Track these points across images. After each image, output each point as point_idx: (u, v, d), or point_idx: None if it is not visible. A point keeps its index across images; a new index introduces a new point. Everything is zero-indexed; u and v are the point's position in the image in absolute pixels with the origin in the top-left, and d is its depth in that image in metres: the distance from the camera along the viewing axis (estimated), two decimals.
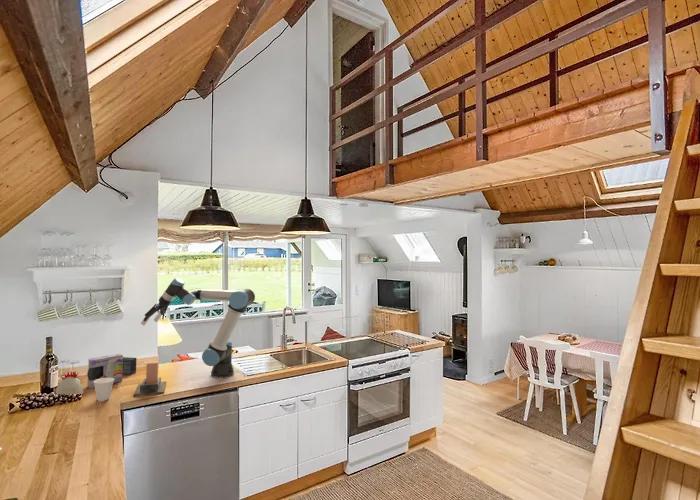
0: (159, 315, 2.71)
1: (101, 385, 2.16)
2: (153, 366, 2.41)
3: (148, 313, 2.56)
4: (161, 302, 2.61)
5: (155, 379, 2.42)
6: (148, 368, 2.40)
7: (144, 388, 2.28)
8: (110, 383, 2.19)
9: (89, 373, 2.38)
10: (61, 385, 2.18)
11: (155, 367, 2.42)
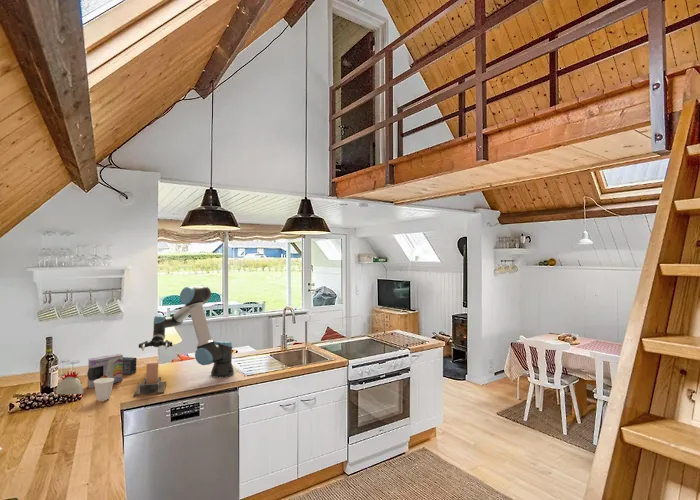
0: (166, 345, 2.59)
1: (101, 385, 2.16)
2: (153, 366, 2.41)
3: None
4: (151, 341, 2.67)
5: (155, 379, 2.42)
6: (148, 368, 2.40)
7: (144, 388, 2.28)
8: (110, 383, 2.19)
9: (89, 373, 2.38)
10: (61, 385, 2.18)
11: (155, 367, 2.42)
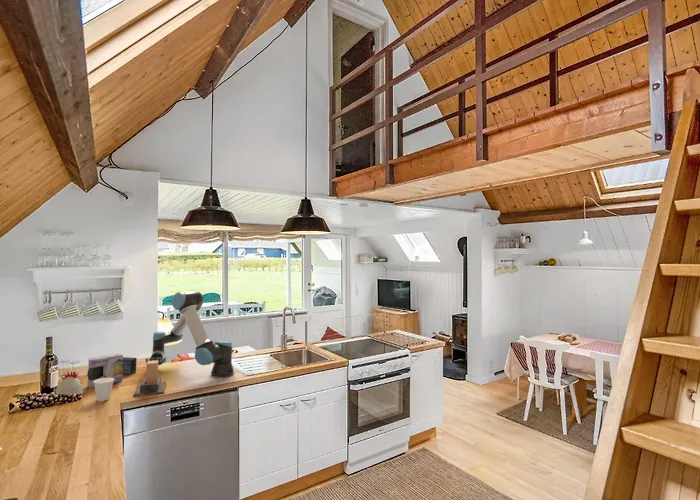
0: None
1: (101, 385, 2.16)
2: (153, 366, 2.41)
3: None
4: None
5: (155, 379, 2.42)
6: (148, 368, 2.40)
7: (144, 388, 2.28)
8: (110, 383, 2.19)
9: (89, 373, 2.38)
10: (61, 385, 2.18)
11: (155, 367, 2.42)
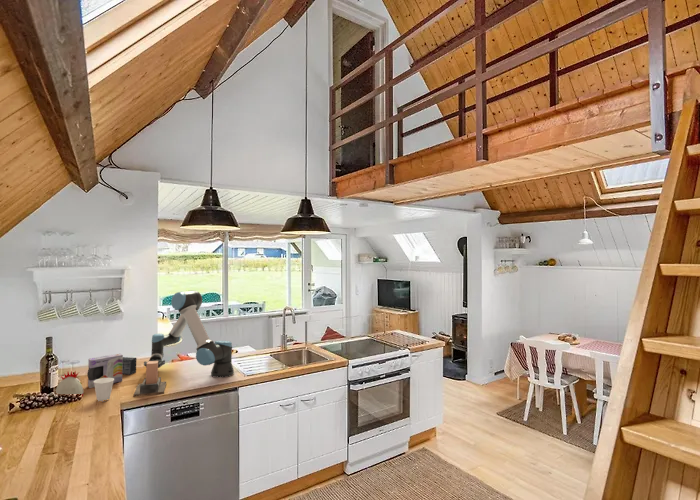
0: None
1: (101, 385, 2.16)
2: (153, 366, 2.40)
3: None
4: None
5: (155, 379, 2.41)
6: (148, 369, 2.39)
7: (144, 388, 2.28)
8: (110, 383, 2.19)
9: (89, 373, 2.38)
10: (61, 385, 2.18)
11: (155, 367, 2.41)
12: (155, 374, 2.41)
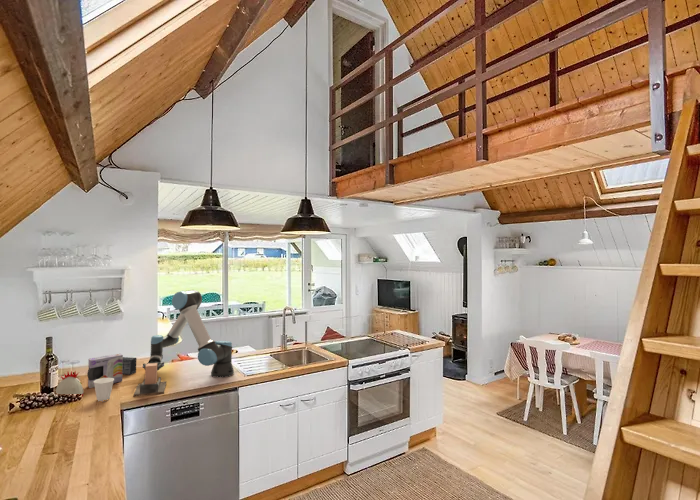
0: None
1: (101, 385, 2.16)
2: (152, 369, 2.35)
3: None
4: None
5: (154, 382, 2.36)
6: (146, 371, 2.34)
7: (144, 388, 2.28)
8: (110, 383, 2.19)
9: (89, 373, 2.37)
10: (61, 385, 2.18)
11: (154, 370, 2.36)
12: (154, 377, 2.36)
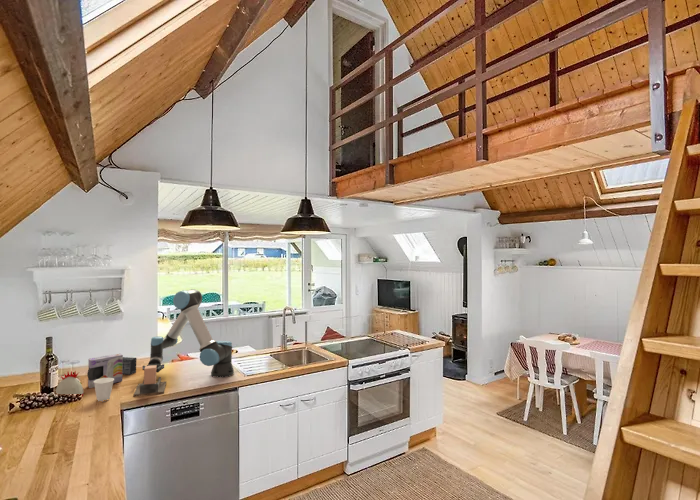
0: None
1: (101, 385, 2.16)
2: (151, 371, 2.31)
3: None
4: None
5: None
6: (145, 374, 2.30)
7: (144, 388, 2.28)
8: (110, 383, 2.19)
9: (89, 373, 2.37)
10: (61, 385, 2.18)
11: (153, 372, 2.31)
12: (153, 379, 2.31)
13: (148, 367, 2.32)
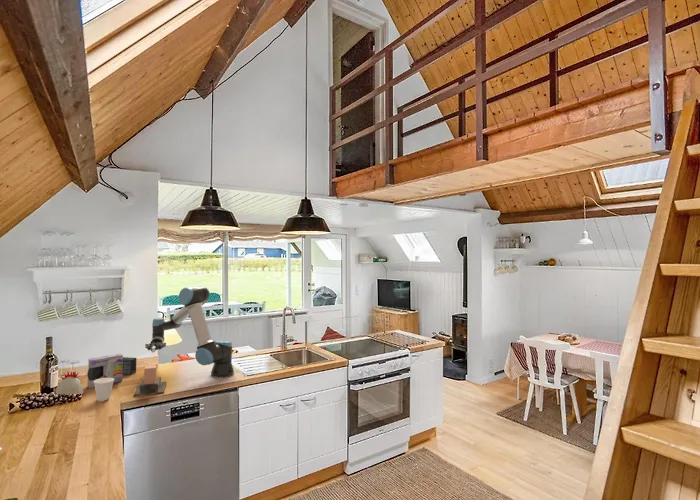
0: None
1: (101, 385, 2.16)
2: (151, 371, 2.31)
3: (147, 347, 2.56)
4: None
5: None
6: (145, 373, 2.30)
7: (144, 388, 2.28)
8: (110, 383, 2.19)
9: (89, 373, 2.38)
10: (61, 385, 2.18)
11: (153, 372, 2.31)
12: (153, 379, 2.31)
13: (148, 367, 2.32)
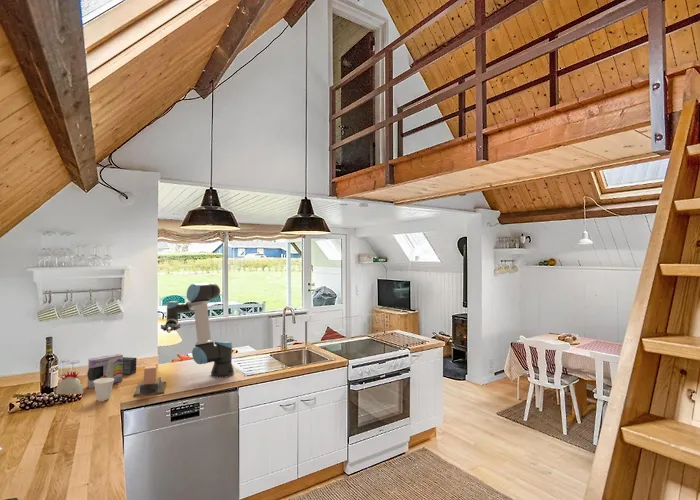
0: None
1: (101, 385, 2.16)
2: (151, 371, 2.31)
3: (163, 328, 2.67)
4: None
5: None
6: (145, 373, 2.30)
7: (144, 388, 2.28)
8: (110, 383, 2.19)
9: (89, 373, 2.37)
10: (61, 385, 2.18)
11: (153, 372, 2.31)
12: (153, 379, 2.31)
13: (148, 367, 2.32)
